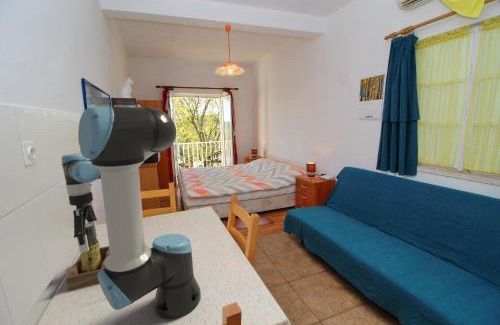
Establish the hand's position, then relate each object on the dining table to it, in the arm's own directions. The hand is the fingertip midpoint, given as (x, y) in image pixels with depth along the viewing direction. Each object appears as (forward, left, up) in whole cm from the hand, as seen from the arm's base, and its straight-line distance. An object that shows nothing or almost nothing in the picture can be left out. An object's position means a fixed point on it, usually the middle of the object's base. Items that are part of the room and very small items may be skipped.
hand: (89, 243), depth 94 cm
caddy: (0, -5, -14) cm, 14 cm away
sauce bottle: (+1, 0, -13) cm, 13 cm away
